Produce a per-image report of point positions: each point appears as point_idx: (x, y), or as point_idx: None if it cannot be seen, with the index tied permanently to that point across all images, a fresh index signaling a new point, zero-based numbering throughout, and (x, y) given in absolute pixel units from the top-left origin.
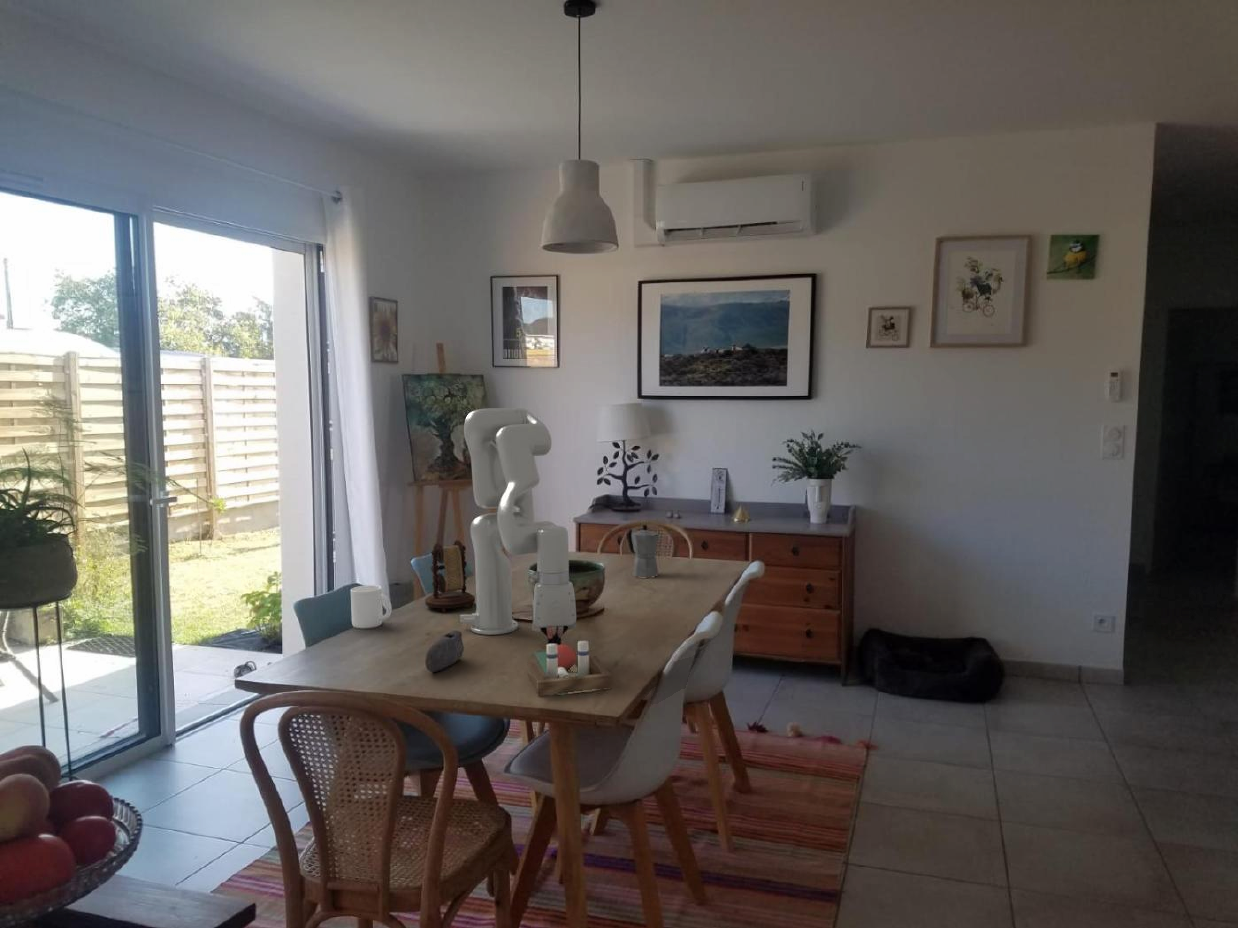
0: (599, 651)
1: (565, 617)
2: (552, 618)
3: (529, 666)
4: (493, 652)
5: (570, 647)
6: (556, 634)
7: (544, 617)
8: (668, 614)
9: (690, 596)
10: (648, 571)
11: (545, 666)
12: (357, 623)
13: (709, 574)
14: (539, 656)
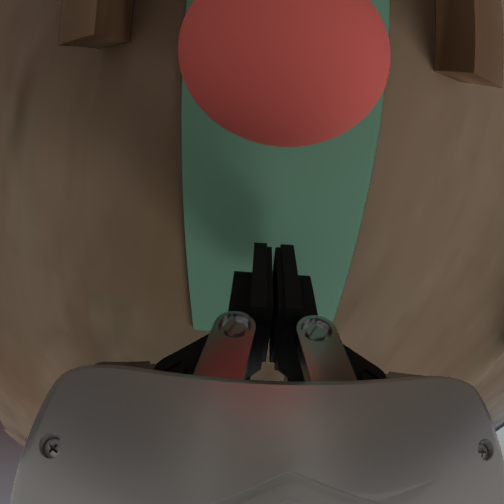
0: (71, 274)
1: (144, 457)
2: (343, 469)
3: (500, 31)
4: (426, 364)
5: (210, 14)
6: (259, 344)
7: (442, 468)
8: (8, 392)
9: (12, 417)
10: None
11: (358, 148)
12: None
13: (23, 439)
14: (328, 295)
